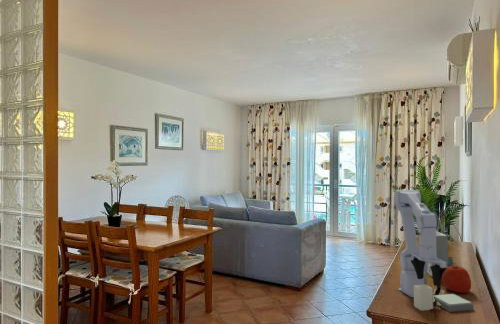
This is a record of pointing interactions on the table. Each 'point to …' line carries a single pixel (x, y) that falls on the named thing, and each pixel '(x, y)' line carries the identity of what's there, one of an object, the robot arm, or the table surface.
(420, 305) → the carton
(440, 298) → the tray
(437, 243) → the hard drive box
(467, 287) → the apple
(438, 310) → the table surface
